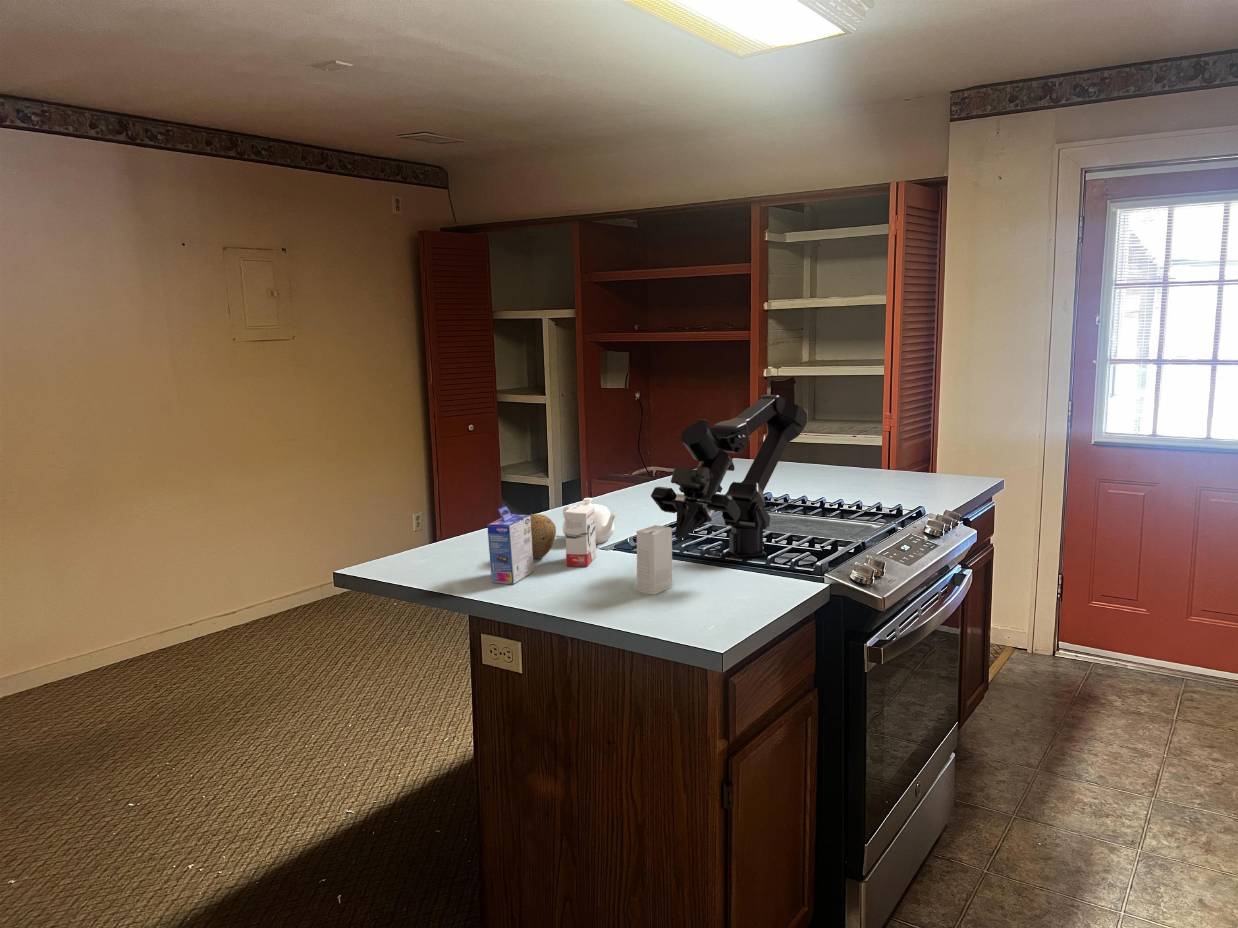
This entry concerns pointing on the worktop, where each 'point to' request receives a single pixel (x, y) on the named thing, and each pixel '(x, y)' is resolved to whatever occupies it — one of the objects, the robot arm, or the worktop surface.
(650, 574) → the skincare box
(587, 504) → the teapot
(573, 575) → the worktop surface
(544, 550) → the natural sponge
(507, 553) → the ink cartridge box
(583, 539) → the ink box
